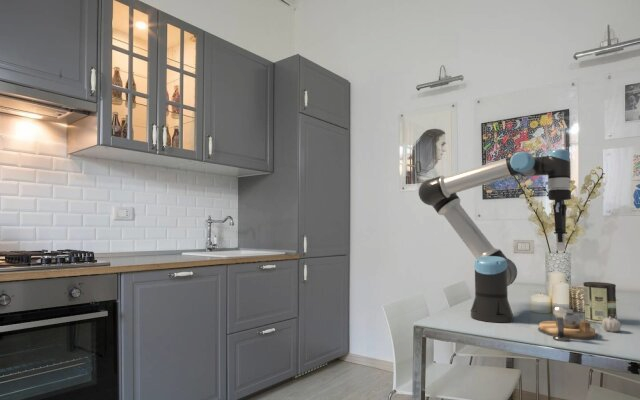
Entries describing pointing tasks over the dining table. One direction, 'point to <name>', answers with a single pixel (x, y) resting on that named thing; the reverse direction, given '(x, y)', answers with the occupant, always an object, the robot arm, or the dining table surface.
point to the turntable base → (570, 337)
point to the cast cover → (570, 320)
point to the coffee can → (599, 301)
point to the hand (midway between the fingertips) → (561, 250)
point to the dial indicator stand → (560, 324)
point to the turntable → (583, 332)
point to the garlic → (611, 324)
